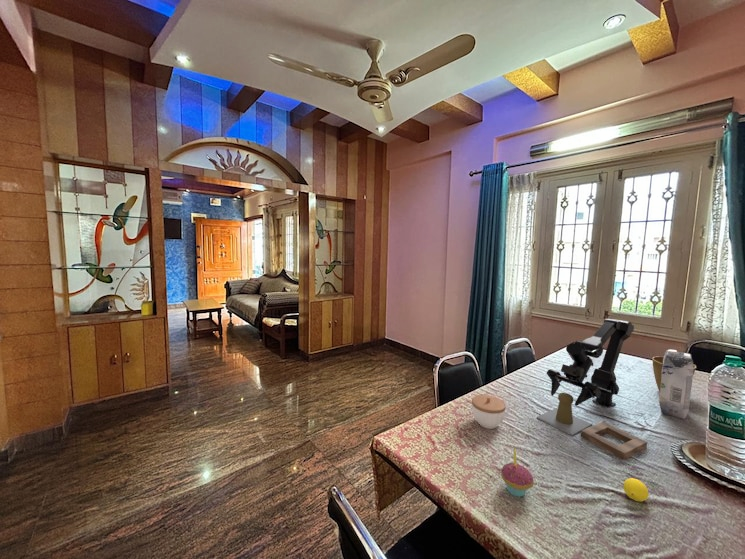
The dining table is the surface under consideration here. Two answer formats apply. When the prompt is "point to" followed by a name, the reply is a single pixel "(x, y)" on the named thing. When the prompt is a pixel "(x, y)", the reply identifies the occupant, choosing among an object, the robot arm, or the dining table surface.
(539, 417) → the grey mat
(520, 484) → the cupcake
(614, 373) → the robot arm
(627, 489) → the lemon
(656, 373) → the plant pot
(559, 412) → the cork
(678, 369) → the juice carton
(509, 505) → the dining table surface
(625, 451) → the socket block
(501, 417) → the lidded bowl
